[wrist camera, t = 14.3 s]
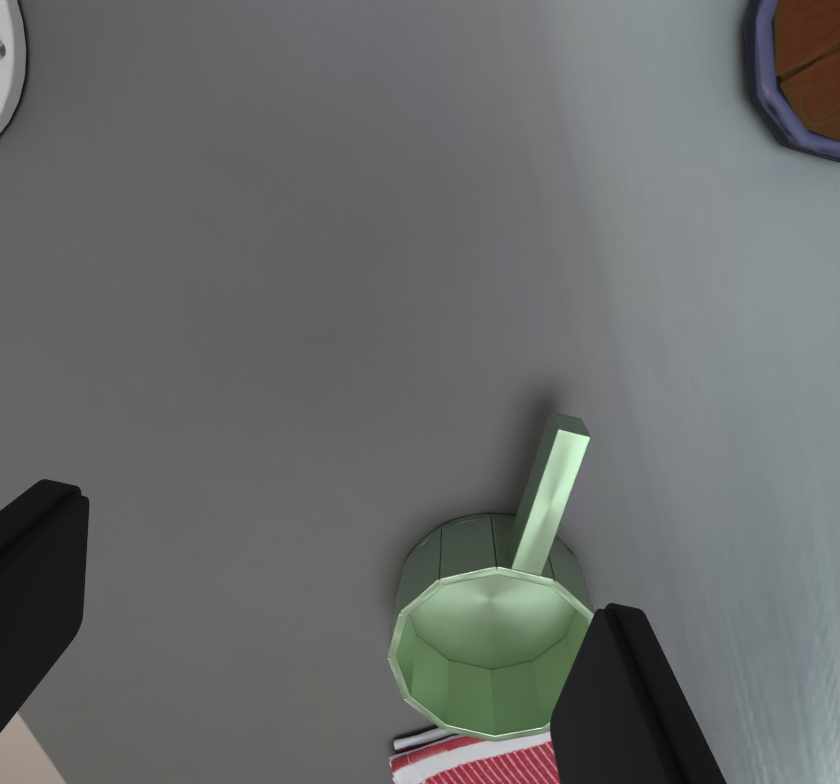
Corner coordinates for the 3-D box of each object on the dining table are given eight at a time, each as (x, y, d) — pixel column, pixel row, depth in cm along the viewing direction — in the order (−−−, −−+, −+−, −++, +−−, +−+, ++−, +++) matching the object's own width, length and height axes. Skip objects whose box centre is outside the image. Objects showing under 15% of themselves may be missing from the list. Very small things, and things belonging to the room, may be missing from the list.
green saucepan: (550, 682, 40) (565, 759, 34) (382, 643, 39) (371, 714, 34) (655, 418, 33) (693, 461, 28) (455, 369, 33) (455, 404, 28)
